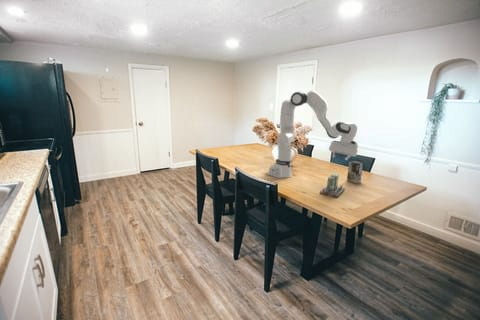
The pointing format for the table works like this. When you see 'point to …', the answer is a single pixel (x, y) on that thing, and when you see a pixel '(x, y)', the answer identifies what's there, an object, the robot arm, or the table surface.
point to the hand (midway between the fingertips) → (339, 158)
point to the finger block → (335, 180)
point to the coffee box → (355, 171)
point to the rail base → (332, 188)
